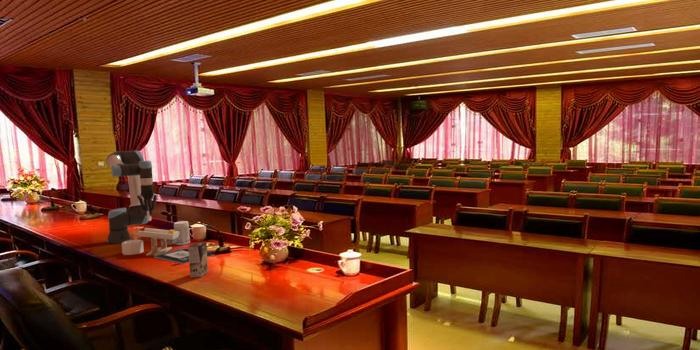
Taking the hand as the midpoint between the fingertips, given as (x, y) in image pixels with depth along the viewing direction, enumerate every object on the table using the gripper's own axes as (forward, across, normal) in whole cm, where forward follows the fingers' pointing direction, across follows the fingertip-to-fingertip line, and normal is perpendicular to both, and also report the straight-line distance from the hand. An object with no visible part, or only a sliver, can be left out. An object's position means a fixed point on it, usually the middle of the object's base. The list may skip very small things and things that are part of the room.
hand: (149, 220), depth 301 cm
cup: (+19, -7, -10) cm, 22 cm away
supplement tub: (+19, +16, +12) cm, 27 cm away
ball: (+7, +18, -10) cm, 22 cm away
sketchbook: (+20, +30, -22) cm, 42 cm away
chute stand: (+19, +10, -10) cm, 23 cm away
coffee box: (+20, +54, -62) cm, 84 cm away
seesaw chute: (+12, +9, -6) cm, 16 cm away
